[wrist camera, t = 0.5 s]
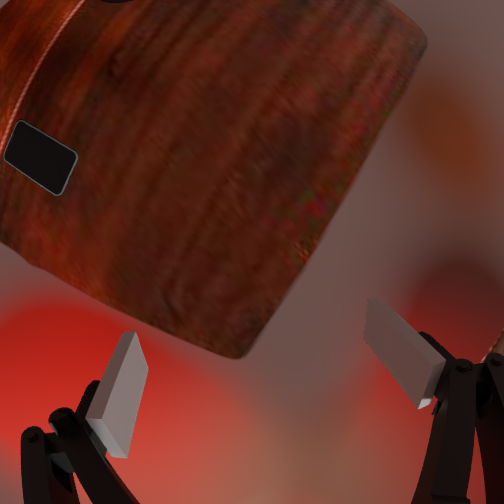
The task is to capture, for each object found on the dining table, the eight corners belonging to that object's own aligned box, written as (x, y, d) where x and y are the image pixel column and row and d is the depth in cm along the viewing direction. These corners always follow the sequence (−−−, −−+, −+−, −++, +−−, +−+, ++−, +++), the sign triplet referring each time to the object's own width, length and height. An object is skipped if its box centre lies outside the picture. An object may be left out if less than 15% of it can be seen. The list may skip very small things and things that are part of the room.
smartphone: (59, 198, 37) (1, 159, 33) (62, 197, 37) (5, 158, 34) (79, 154, 35) (18, 118, 31) (81, 154, 36) (21, 118, 32)
